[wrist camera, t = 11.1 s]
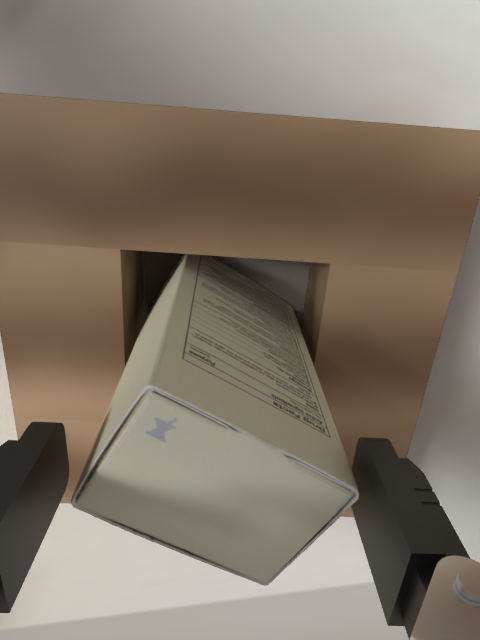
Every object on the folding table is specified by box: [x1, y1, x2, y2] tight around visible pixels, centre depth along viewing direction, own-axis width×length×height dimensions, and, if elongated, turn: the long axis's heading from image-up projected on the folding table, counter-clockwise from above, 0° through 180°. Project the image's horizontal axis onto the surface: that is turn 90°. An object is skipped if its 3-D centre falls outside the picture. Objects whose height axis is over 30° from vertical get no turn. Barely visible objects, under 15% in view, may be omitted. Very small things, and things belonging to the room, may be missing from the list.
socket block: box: [0, 93, 480, 517], centre depth 20 cm, size 18×18×4 cm
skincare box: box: [71, 254, 360, 585], centre depth 16 cm, size 6×4×12 cm
